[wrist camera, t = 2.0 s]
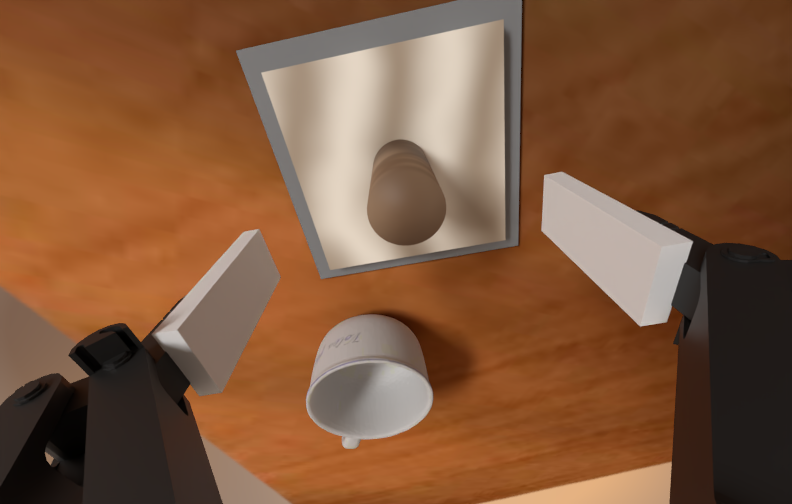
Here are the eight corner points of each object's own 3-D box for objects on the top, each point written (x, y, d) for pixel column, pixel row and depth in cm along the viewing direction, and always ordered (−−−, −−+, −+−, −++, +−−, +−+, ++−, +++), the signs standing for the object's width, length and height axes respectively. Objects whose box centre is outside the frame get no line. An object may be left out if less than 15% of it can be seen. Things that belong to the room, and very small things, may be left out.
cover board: (497, 21, 19) (574, -13, 11) (500, 233, 27) (548, 301, 19) (267, 72, 20) (191, 73, 12) (332, 262, 28) (310, 339, 20)
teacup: (347, 282, 30) (336, 346, 23) (443, 321, 32) (459, 389, 25) (297, 370, 36) (276, 443, 29) (382, 397, 38) (381, 469, 31)
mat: (519, -13, 19) (522, -15, 19) (516, 243, 28) (518, 245, 27) (238, 51, 20) (235, 50, 20) (321, 276, 29) (321, 278, 29)
